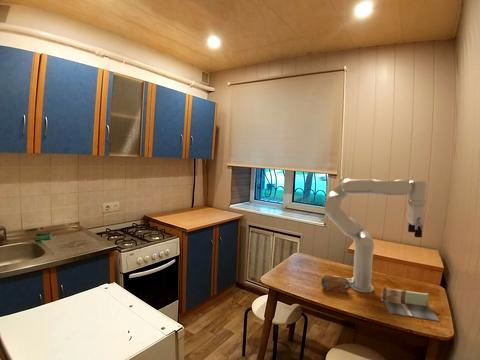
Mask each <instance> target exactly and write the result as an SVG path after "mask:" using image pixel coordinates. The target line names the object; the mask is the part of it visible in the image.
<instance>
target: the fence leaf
mask: <svg viewBox="0 0 480 360" xmlns="http://www.w3.org/2000/svg"><path fill="white" fill-rule="evenodd" d="M405 291H406V300H405V302H406V303H408V304H415V305H422V306H428V305H429V300H430V299H429V298H430V293H427V292H425V293H424V292H416V291H410V290H405Z"/></svg>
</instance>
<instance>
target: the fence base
mask: <svg viewBox="0 0 480 360" xmlns="http://www.w3.org/2000/svg"><path fill="white" fill-rule="evenodd" d="M382 288H383V289H382V291H383V292H382V293H380V296H381V298H380V300H381V302H383V303H384V305H385V307H386V309H387V312H388V314H390V315H395V316H403V317H409V318H416V319H421V320H429V321H435V322H440V319H439V317H438V316H437V314H436V313H435V312H434V311H433V310H432V308H431V306H430V305H429V304H428V306H422V305H415V304H408V303H406V302H405V300H406V291H407V290H405V289H393V288H387V287H382Z"/></svg>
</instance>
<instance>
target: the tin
mask: <svg viewBox="0 0 480 360" xmlns="http://www.w3.org/2000/svg"><path fill="white" fill-rule="evenodd" d="M346 278H347V277H344V276H338V275H333V274H326V275H325V274H324V276H323V277H322V279H321V283H320V284H321V287H322V288H324V289H325V290H326V289H328V290H327V291H329V290H333V291H332V292H335V291H337V292H336V293H343V294H344V293H348V291H349V290H350V288H351V287H350V283H349V281H348V280H347V279H346Z"/></svg>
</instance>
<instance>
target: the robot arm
mask: <svg viewBox="0 0 480 360" xmlns="http://www.w3.org/2000/svg"><path fill="white" fill-rule="evenodd" d="M426 190H427V182H426V180H424V179H423V180H421V179H413V180H410V179H402V178H401V179H400V178H398V179H396V180H381V179H375V178H364V179H363V178H362V179H361V178H360V179H358V178H357V179H356V178H355V179H354V178H353V179H352V178H344V179H343V180H342V181H341V182H340V183H338V185H336V186H335V187H334V188H333V189H332V190H331V191H329V192H328V193H327V195H326V200H325V204H324V212H325V214H326V216H327V217H328V218H329V220H330V221H332V223H333V224H334V225H335V226H336V227H337V228H338V229H339V230H340V231H341V232H342V233H343V234H344V235H345V236H347V237H349V238H351V239H352V240H353V241H354V254H353V272H352V274H353V276H352V277H350V278H347V277H345V278H346V279H347V280H348V281H349V284H350V288H351V289H353V290H354V291H357V292H360V293H364V294H365V293H368V294H369V293H373V291H374V290H375V289H374V286H373V285H372V275H373V273H372V272H373V271H372V270H373V258H374V257H373V255H374V249H375V243H374V239H373V238H372V236H371V234H370V233H369V231H367V230H366V228H365V227H363V226H362V225H361V223H359V222H358V221H357V220H356V219H355V218H354V217H350V216H348V215H347V214H346V212H344V210H343V209H341V208H342V207H341V205H342V202H343V200H344V199H345V198H346V197H348V196H349V195H378V196H379V195H383V196H384V195H385V196H405V195H408V196H407V197H408V200H407V206H408V208H407V216H406V221H407V224H408V227H407V232H408V233H414V238H423V225H424V208H425V207H426V193H427V191H426Z"/></svg>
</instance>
